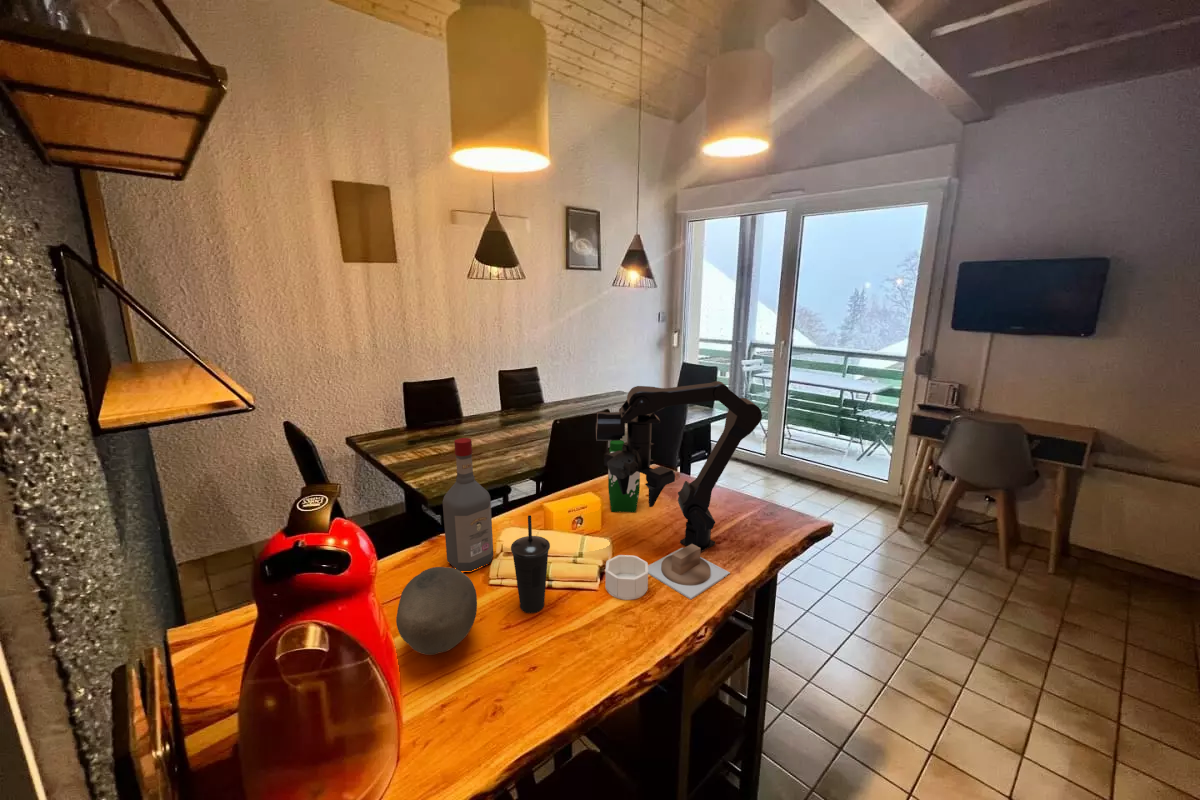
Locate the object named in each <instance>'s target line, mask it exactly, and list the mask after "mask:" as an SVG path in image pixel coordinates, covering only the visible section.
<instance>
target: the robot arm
mask: <svg viewBox="0 0 1200 800" xmlns="http://www.w3.org/2000/svg"><path fill="white" fill-rule="evenodd" d="M716 401H718V402H719V403H720V404H721V405H723V406H724V407H725V408H726V409H728V411H727V414H726V416H725V423H724V429H723V431H722V433H721V434H720V437H719V439H718V440H717V441H716V444H715V445H714V447H713V448H712V451H711V452H710V454H709V455H708V458H707V459H706V461H705V462H704V465H703V466H702V467H701V470H700V472H699V473H698V475H697V476H696V477H695V479H694V480H692V481H691V482H689V481H688V480H685V481H684V482H683V485H682V486H681V487H682V488H681V489H680V490H679V491H678V492H677V495H678V498H677V502H678V505H679V507H680V510H681V513H682V515H683V517H684V519H686V522H685V529H684V538H682V539H681V540H680V541H679V543H680V544H682V545H684V546H685V547H687V546H689V545H690V544H694V545H696V546H698V547H700V548H701V552H700V553H702V552H704V551H706V550H707V549H709V548H711V547H713V546H715V545H716V541H714V540H713V539H712V538H711V536H712V530H713V528H714V526H715V525H716V521H715V519H714V517H713V514H712V513H711V512H710V509H709V507H710V504H711V499H712V492H713V489H714V488H715V486H716V484H717V483H718V481H719V480H720V477H721V475H722V474H723V472H724V471H725V469H726V467H727V466H728V463H729V462H730V461H731V459H732V457H733V455H734V453H735V451H736V450H737V448H738V446H739V445H740V443H741V441H742V440H743V439H745V438H747V437H748V436H750V434H751V433H753V432H754V430H755V429H756V428H757V427H758V425H759V424H760V423H761V421H762V418H763V414H762V409H761V408H760V407H759V406H758V405H756V404H755V403H753V402H752V401H751V400H750V399H748V398H745V397H740V396H738V395H737V394H735V393H734V392H733V391H732V390H730V389H729V387H728V386H727V385H726V384H724V383H723V382H722V381H720V380H715V381H713V382H708V383H707V382H706V383H699V384H690V385H689V384H688V385H681V386H675V387H664V388H663V387H655V386H650V385H649V386H648V385H647V386H645V385H636V386H633V387H632V388H631V389H630V390H629V391H628V392H627V396H626V400H625V402H623V404H622V405H621V406H620V407H619V409H618V411H617V412H616V411H615V412H614V411H613V412H612V411H609V412H607V411H597V413H596V422H595V439H596V442H597V441H602V442H604V441H605V442H607V441H620V440H622V439H623V437H625V435H626V443H625V442H624V444H623V446H622V451H620V450H619V451H616V452H613V453H609V452H608V453H607V454H606V456H605V457H603V459H604V463H603V464H604V465H603V466H604V467H605V466H606V467H607V469H609V471H610V474H611V475H614V476H616V478H617V480H618V483H619V486H620V489H621V492H622V494H623V495H625V494H626V492H627V489H628V483H629V477H630V475H631V476H632V475H633V474H634V473H635V472H637V471H638V472H640V474H644V475H645V481H646V483H645V484H644V485H645V486H646V487H647V488H648V507H649V508H653V507H654V506H655V504H656V502H657V500H658V498H659V497H660V495H661V492H662V491H663V490H664V488H665V487H666V486H667V485H669V484H672V483H674V482H675V481H676V473H675V471H674V470H673V469H671V468H668V467H665V466H662V465H661V466H658V467H655V468H653V467H651V466H652V465H654V464H655V463H654V462H655V461H654V460H655V459H652V458H651V456H652V455H651V451H652V449H655V443H653V442H652V424H660V423H661V420H660V418H659V416H657V415H656V413H657V412H659V411H661V410H663V409H665V408H669V407H675V406H683V405H691V404H697V403H698V404H699V403H700V404H701V403H709V402H716ZM626 424H627V425H626ZM626 427H627V428H626ZM626 429H627V431H626Z"/></svg>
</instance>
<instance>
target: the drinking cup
mask: <svg viewBox="0 0 1200 800" xmlns="http://www.w3.org/2000/svg"><path fill="white" fill-rule="evenodd" d="M532 528H533V527H532V515H529V514H528V515H527V531H528V534H527V536H523V537H520V538H517V539H516V540H514V541H513V542H512V543H511V544H510V545H511V546H510V551H511V554H512V557H513V564H514V571H515V578H516V587H517V593H518V598H519V599H518V600H519V607H520V610H521V611H522V612H524V613H526V614H535V613H538V612H540V611H542V610H543V608H544V607H545V601H546V600H545V598H546V584H547V574H548V573H547V572H548V559H549V551H550V548H551V543H550V542H549V540H548V539H547V538H545V537H542V536H538V535H533V529H532Z"/></svg>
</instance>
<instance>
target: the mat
mask: <svg viewBox="0 0 1200 800" xmlns="http://www.w3.org/2000/svg"><path fill="white" fill-rule="evenodd" d="M683 548H684V547H681V548H678V549H677V550H674V551H673V552H670V553H669V554H668V555H666V556H663V557H662V558H659V559H657V560H656V561H654V562H653V563H650V564H648V576H651V577H652V578H654V579H656V580H658V582H661V583H662V584H664V585H665V586H667V587H669V588H671V589H672V590H674V591H675V592H678V593H679V594H681V595H682V596H684V597H686V598H687V599H689V600H692V599H693V600H694V599H695V598H696V597H697V596H699V595H700V594H702V593H703V592H705V591H706V590H708V589H710V588H711V587H713V586H714V585H715V584H717V583H719V582H720V581H722V580H723V579H725V578H726V577H727V575H728V574H729V575H731V572H730V571H728V570H726V569H724V568H723V567H720V566H718V565H716V564H715V563H712V561H711V562H710V561H708V560H707V559H705V558H704V557H701V556H700V558H701V559H703V560H704V561H706V562H707V563H708V564H709V566H710V577H709V579H708V580H707V581H706V582H704V583H702V584H699V585H681V584H677V583H674V582H672V581H670V580H668V579H667V578H666V577H665V576H664V575H663V574H662V571H661V564H662V561H663V560H664V559H665V558H666V557H668V556H671V555H672V554H674V553H676V552H678V551H679V550H681V549H683ZM729 575H728V576H729ZM724 577H725V578H724Z"/></svg>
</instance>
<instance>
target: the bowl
mask: <svg viewBox="0 0 1200 800" xmlns="http://www.w3.org/2000/svg"><path fill="white" fill-rule="evenodd" d="M648 565H649V564H648V562H647V561H646V560H644V559H642V558H640V557H639V556H637V555H629V554H626V555H625V554H618V555H616V556H614V557H612V558H610V559H608V560H606V563H605V573H604V574H605V581H604V583H605V586H604V587H605V590H606V591H607V593H608V594H609V595H610V596H612V597H613V598H615V599H619V600H622V601H623V600H624V601H633V600H637V599H640V598H642V597H643V596H644V595H646V593H647V591H648V587H649V574H648Z"/></svg>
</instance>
